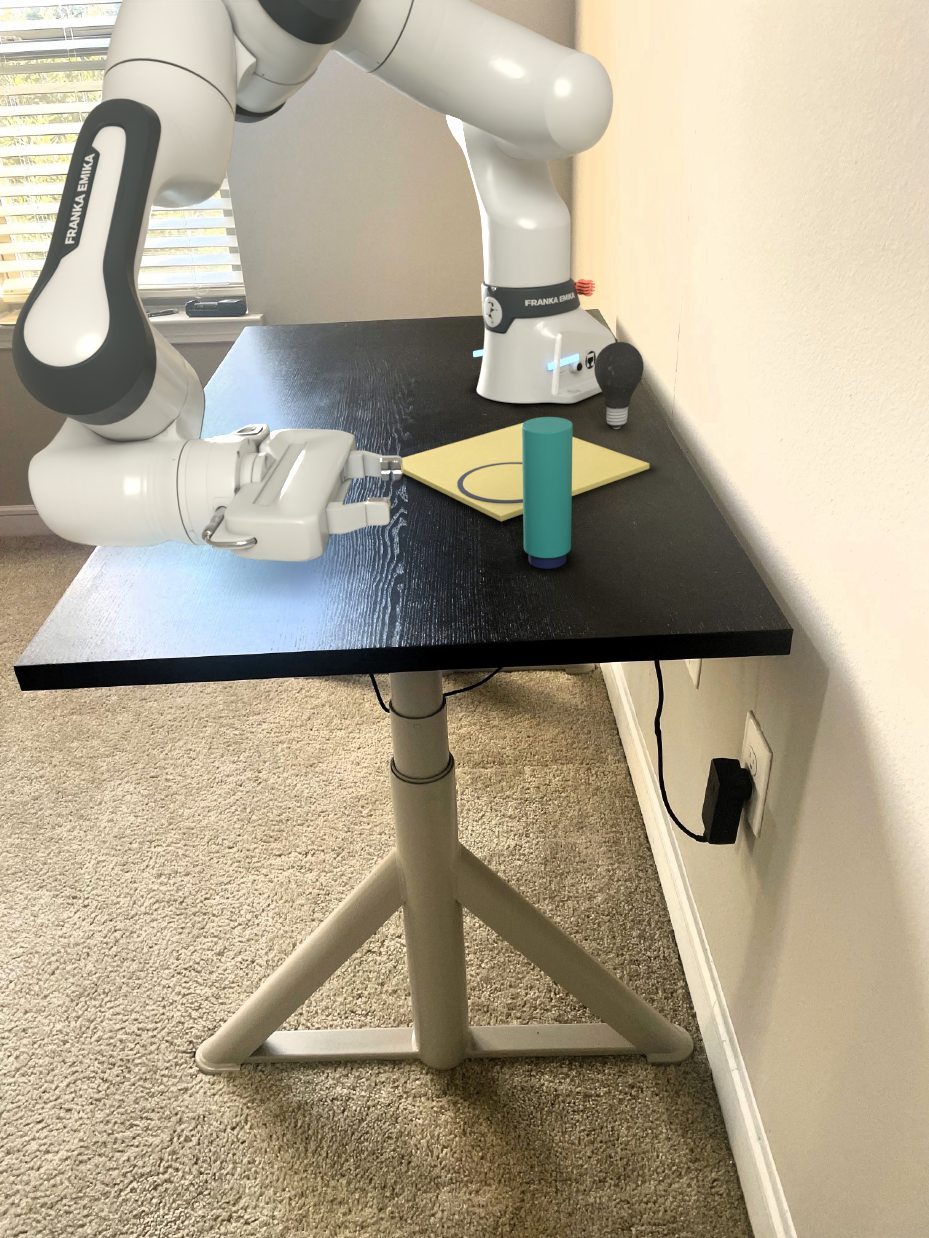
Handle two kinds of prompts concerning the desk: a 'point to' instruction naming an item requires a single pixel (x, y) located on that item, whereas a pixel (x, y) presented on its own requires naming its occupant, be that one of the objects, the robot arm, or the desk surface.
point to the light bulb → (618, 379)
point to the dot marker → (547, 490)
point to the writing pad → (508, 470)
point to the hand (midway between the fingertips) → (396, 488)
